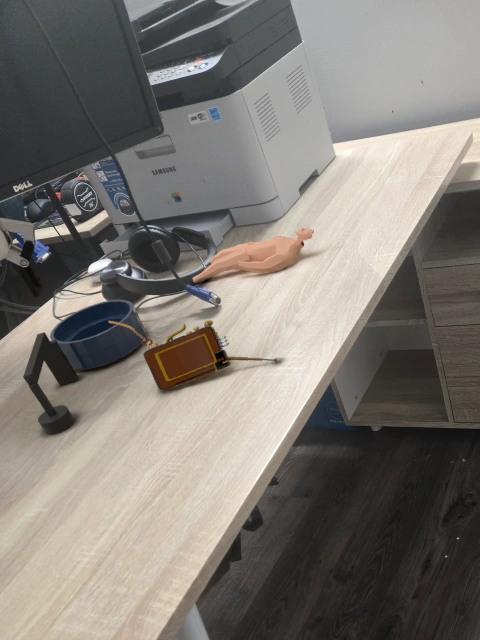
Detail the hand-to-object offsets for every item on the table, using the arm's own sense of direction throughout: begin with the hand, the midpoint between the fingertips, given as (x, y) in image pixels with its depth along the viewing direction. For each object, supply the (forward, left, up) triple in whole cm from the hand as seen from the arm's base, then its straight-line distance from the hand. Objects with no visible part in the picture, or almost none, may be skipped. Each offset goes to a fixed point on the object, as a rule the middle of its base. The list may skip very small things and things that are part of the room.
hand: (5, 304), depth 89 cm
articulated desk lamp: (-1, 0, -17) cm, 17 cm away
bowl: (+5, +15, -17) cm, 23 cm away
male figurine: (+34, +31, -17) cm, 49 cm away
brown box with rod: (+23, -6, -17) cm, 29 cm away
